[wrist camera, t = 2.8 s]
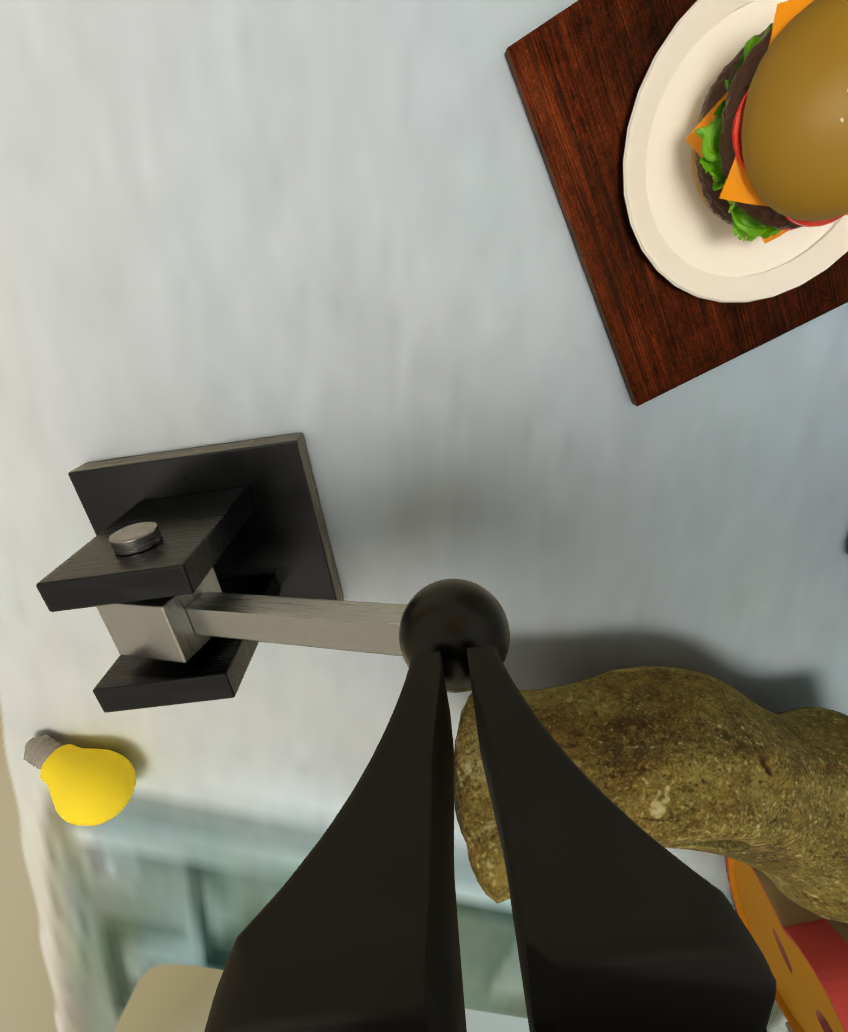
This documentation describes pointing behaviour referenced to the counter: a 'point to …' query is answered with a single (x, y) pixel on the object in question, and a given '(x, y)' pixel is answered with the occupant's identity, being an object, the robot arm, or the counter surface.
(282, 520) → the bracket
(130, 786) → the light bulb
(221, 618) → the lever
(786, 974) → the decorative object
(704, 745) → the stone tool
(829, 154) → the hamburger
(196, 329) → the counter surface
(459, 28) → the counter surface
